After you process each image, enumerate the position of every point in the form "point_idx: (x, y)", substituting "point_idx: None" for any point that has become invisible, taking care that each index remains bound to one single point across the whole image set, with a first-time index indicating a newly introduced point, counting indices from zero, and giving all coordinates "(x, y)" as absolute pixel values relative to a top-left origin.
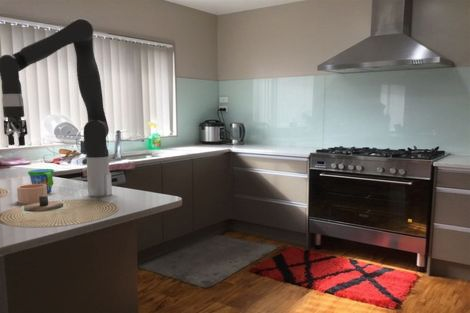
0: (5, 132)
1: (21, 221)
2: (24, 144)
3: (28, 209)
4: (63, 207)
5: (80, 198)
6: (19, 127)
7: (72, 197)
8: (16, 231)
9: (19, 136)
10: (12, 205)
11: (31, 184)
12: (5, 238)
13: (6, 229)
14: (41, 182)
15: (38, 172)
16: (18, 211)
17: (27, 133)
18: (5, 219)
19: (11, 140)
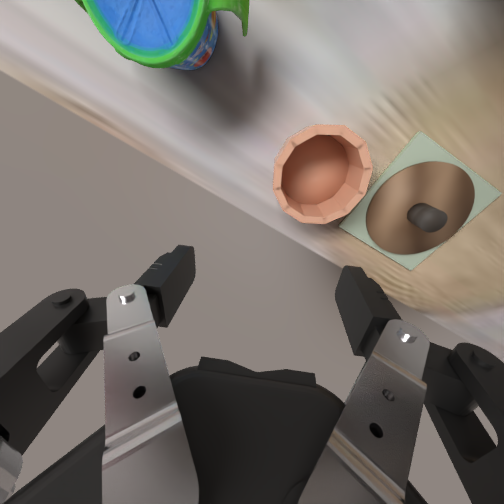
0: (92, 356)
1: (440, 293)
2: (359, 271)
3: (406, 254)
4: (478, 188)
5: (442, 32)
6: (473, 499)
7: (394, 38)
8: (479, 328)
9: (364, 350)
10: (297, 223)
11: (285, 155)
12: None
13: (450, 327)
14: (207, 42)
15: (193, 39)
16: (366, 252)
17: (495, 357)
18: (394, 296)
19: (182, 283)
